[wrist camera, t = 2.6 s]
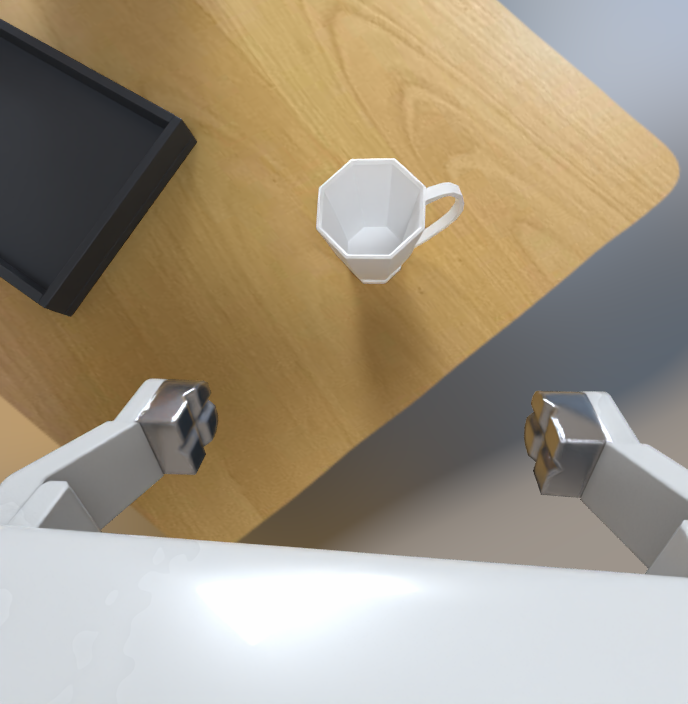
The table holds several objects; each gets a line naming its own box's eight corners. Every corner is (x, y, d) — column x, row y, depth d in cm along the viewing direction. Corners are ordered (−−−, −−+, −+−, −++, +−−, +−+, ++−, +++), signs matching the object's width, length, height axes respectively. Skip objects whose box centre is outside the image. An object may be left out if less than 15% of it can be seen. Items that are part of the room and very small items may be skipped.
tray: (197, 141, 36) (181, 118, 34) (71, 317, 35) (44, 308, 32) (-15, 22, 41) (-44, -6, 39) (-134, 171, 40) (-172, 153, 37)
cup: (319, 236, 34) (298, 179, 26) (436, 191, 33) (450, 119, 25) (348, 314, 32) (334, 279, 24) (470, 269, 32) (497, 218, 24)
